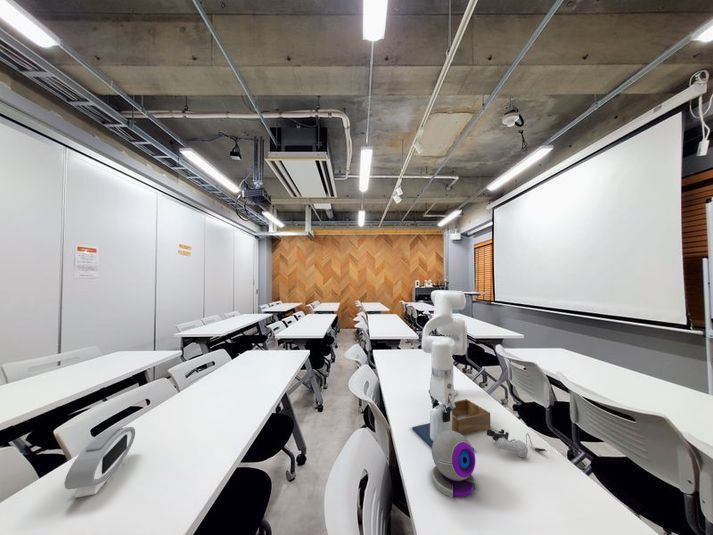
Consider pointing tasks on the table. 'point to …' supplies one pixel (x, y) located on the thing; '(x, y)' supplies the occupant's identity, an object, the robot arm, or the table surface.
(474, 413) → the wooden box
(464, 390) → the table surface
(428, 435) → the mat
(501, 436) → the clip-on lamp
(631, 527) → the table surface
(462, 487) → the webcam
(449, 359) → the robot arm
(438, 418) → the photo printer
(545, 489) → the table surface
